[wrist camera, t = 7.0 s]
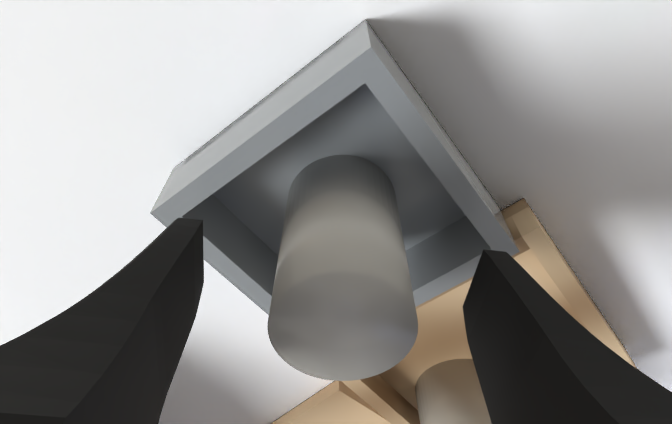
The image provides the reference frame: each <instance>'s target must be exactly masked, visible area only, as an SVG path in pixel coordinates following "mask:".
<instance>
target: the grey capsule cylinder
mask: <svg viewBox="0 0 672 424" xmlns="http://www.w3.org/2000/svg"><path fill="white" fill-rule="evenodd" d="M415 394H416V400H417V407H418V413H419V420H420V424H491V420H490V416H489V413H488V409H487V406H486V403H485V399H484V396H483V393H482V389H481V386H480V383H479V379H478V376H477V373H476V369H475V366H474V362H473V360H471V359H453V360H447V361H444V362H440V363H438V364H436V365H434V366H432V367H430V368H428V369H427V370H426V371H424V372H423V373H422V374H421V376H420V377H419V378H418V380H417V382H416V385H415Z"/></svg>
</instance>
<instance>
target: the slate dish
mask: <svg viewBox="0 0 672 424" xmlns="http://www.w3.org/2000/svg"><path fill="white" fill-rule="evenodd" d="M333 155H352V156H356V157H360V158H363V159H366V160H368V161H370V162H372V163H373V164H375V165H377V166H378V167H379V168H380V169H381V170H383V171H384V173H385V174H386V175H387V176H388V178H389V179H390V181H391V183H392V185H393V187H394V191H395V195H396V200H397V206H398V212H399V217H400V223H401V229H402V234H403V240H404V245H405V251H406V257H407V262H408V268H409V274H410V279H411V285H412V290H413V296H414V302H415V307H417V306H418V305H420V304H422V303H424V302H426V301H428V300H430V299H432V298H433V297H435V296H437V295H439V294H441V293H443V292H445V291H447V290H449V289H450V288H452V287H454V286H456V285H458V284H460V283H462V282H464V281H466V280H467V279H469V278H471V277H473V276H474V274H475V271H476V268H477V265H478V263H479V260H480V257H481V254H482V252H483V249H485V250H495V251H504V252H507V253H508V254H509V255H510V256H513V255H515V254H517V253H518V252H520V251H519V249H518V247H517V245H516V243H515V241H514V238H513V236H512V234H511V232H510V230H509V228H508V226H507V224H506V222H505V220H504V217H503V215H502V213H501V211H500V209H499V207H498V205H497V203H496V202H495V201H494V199H493V198H492V196H491V195H490V194H489V192H488V191H487V189H486V188H485V187H484V185H483V184H482V182H481V181H480V180H479V178H478V177H477V175H476V174H475V172H474V171H473V170H472V168H471V167H470V165H469V164H468V163H467V161H466V160H465V158H464V157H463V156H462V154H461V153H460V151H459V150H458V149H457V147H456V146H455V144H454V143H453V142H452V140H451V139H450V137H449V136H448V135H447V133H446V132H445V130H444V129H443V128H442V126H441V125H440V123H439V122H438V121H437V119H436V118H435V116H434V115H433V113H432V112H431V111H430V109H429V108H428V106H427V105H426V104H425V102H424V101H423V99H422V98H421V97H420V95H419V94H418V92H417V91H416V90H415V88H414V87H413V85H412V84H411V83H410V81H409V80H408V78H407V77H406V76H405V74H404V73H403V71H402V70H401V69H400V67H399V66H398V64H397V63H396V61H395V60H394V59H393V57H392V56H391V54H390V53H389V52H388V50H387V49H386V47H385V46H384V45H383V43H382V42H381V40H380V39H379V38H378V36H377V35H376V33H375V32H374V31H373V29H372V28H371V26H370V25H369V24H368V22H367V21H366V19H365V20H364V21H363V22H361V23H360V24H359V25H357V26H356V27H355V28H354V29H352V30H351V31H350V32H348V33H347V34H346V35H345V36H343V37H342V38H341V39H339V40H338V41H337V42H336V43H334V44H333V45H332V46H330V47H329V48H328V49H327V50H325V51H324V52H323V53H321V54H320V55H319V56H318V57H316V58H315V59H314V60H312V61H311V62H310V63H309V64H307V65H306V66H305V67H303V68H302V69H301V70H300V71H298V72H297V73H296V74H294V75H293V76H292V77H291V78H289V79H288V80H287V81H285V82H284V83H283V84H282V85H280V86H279V87H278V88H276V89H275V90H274V91H273V92H271V93H270V94H269V95H267V96H266V97H265V98H264V99H262V100H261V101H260V102H258V103H257V104H256V105H255V106H253V107H252V108H251V109H249V110H248V111H247V112H246V113H244V114H243V115H242V116H240V117H239V118H238V119H237V120H235V121H234V122H233V123H231V124H230V125H229V126H228V127H226V128H225V129H224V130H222V131H221V132H220V133H219V134H217V135H216V136H215V137H213V138H212V139H211V140H210V141H208V142H207V143H206V144H204V145H203V146H202V147H201V148H199V149H198V150H197V151H195V152H194V153H193V154H192V155H190V156H189V157H188V158H186V159H185V160H184V161H183V162H181V163H180V164H179V165H177V166H176V167H175V168H174V169H173V170H172V172H171V174H170V176H169V178H168V180H167V182H166V184H165V186H164V188H163V189H162V191H161V193H160V195H159V197H158V199H157V201H156V203H155V205H154V207H153V209H152V210H151V212H150V213H151V214H152V215H153V216H154V217H155V218H156V219H158V220H159V221H160V222H161V223H162V224H163V225H164V226H166V227H168V226H169V225H170V224H171V223H172V222H173V221H174V220H176V219H177V218H188V219H197V220H203V259H204V260H205V261H206V262H208V263H209V264H210V265H211V266H212V267H213V268H215V269H216V270H217V271H218V272H219V273H220V274H222V275H223V276H224V277H225V278H226V279H227V280H229V281H230V282H231V283H232V284H233V285H234V286H235V287H237V288H238V289H239V290H240V291H241V292H242V293H244V294H245V295H246V296H247V297H248V298H249V299H251V300H252V301H253V302H254V303H255V304H256V305H258V306H259V307H260V308H261V309H262V310H263V311H265V312H266V313H267V314H268V315H269V312H270V305H271V299H272V293H273V287H274V281H275V274H276V268H277V262H278V256H279V249H280V243H281V237H282V231H283V225H284V218H285V212H286V206H287V200H288V194H289V190H290V187H291V184H292V182H293V181H294V179H295V177H296V176H297V175H298V173H299V172H300V171H301V170H302V169H303V168H305V167H306V166H307V165H309V164H311V163H312V162H314V161H316V160H318V159H321V158H324V157H328V156H333Z"/></svg>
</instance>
